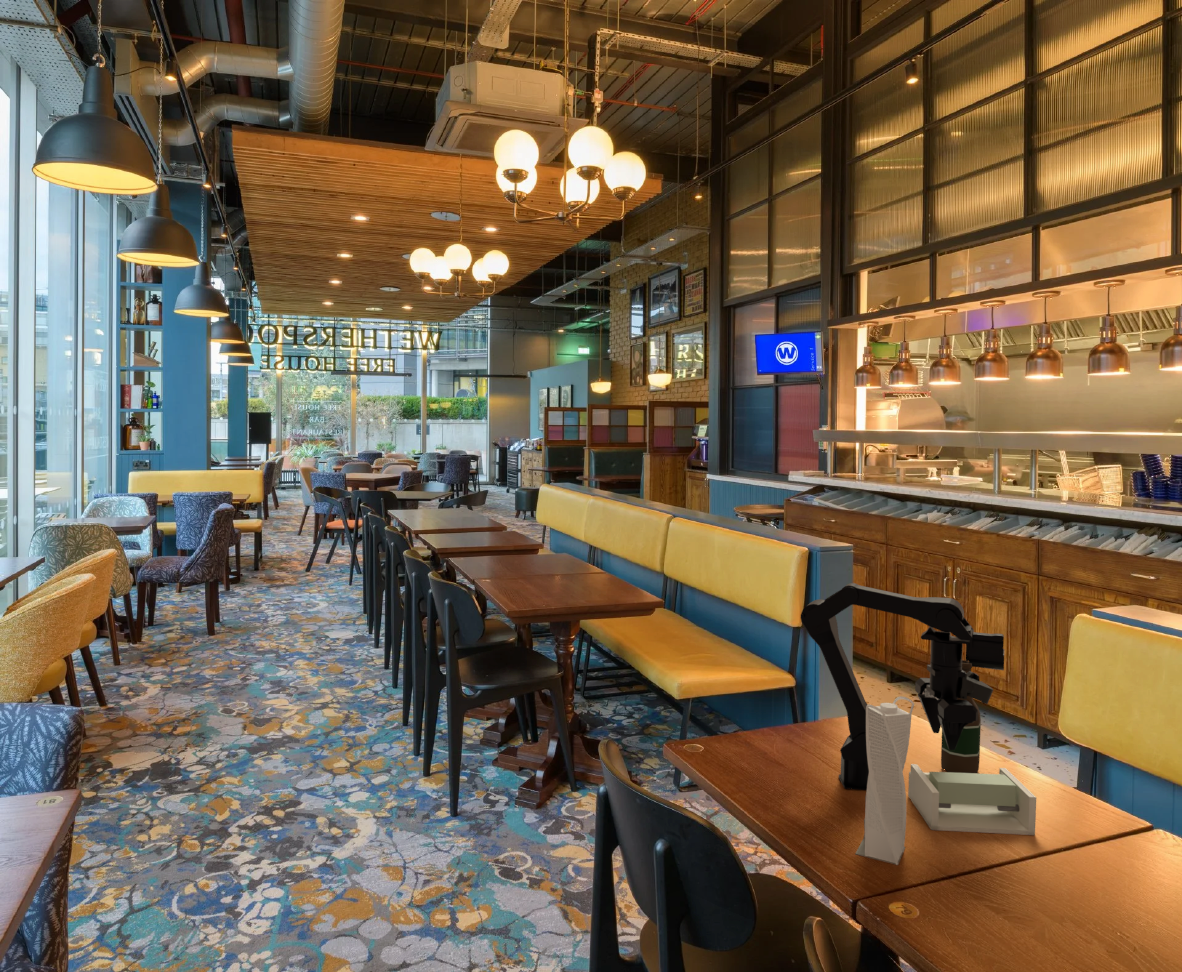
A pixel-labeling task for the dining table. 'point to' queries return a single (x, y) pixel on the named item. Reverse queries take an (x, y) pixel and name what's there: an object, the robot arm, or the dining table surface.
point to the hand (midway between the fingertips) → (943, 741)
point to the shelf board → (974, 788)
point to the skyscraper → (886, 782)
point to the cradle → (972, 809)
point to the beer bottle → (964, 743)
